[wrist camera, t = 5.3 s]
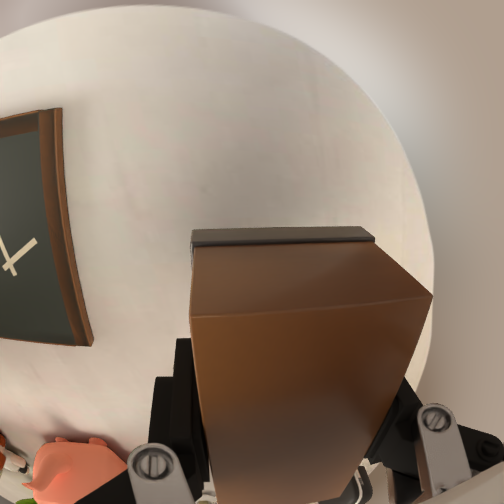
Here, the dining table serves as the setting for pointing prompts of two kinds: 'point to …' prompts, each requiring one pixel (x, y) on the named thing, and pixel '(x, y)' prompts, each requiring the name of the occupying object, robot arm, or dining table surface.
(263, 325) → the eraser
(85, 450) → the teapot
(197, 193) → the dining table surface
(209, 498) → the ornament
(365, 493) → the battery charger
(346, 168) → the dining table surface
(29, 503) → the potted flower
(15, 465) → the toy
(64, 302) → the slate
